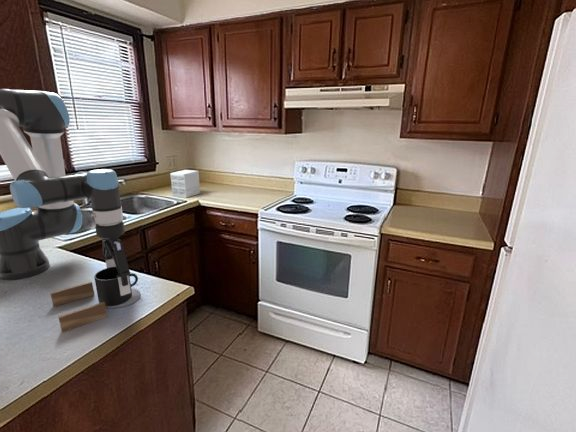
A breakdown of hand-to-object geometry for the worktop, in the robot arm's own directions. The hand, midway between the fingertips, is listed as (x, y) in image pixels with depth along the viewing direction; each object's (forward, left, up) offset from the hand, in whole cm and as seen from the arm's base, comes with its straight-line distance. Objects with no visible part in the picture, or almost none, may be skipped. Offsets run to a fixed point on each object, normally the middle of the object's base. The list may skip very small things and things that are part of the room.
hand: (119, 285), depth 100 cm
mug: (0, 0, -4) cm, 4 cm away
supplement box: (-125, +81, -5) cm, 149 cm away
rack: (-1, -11, -5) cm, 12 cm away
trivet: (0, 0, -5) cm, 5 cm away
